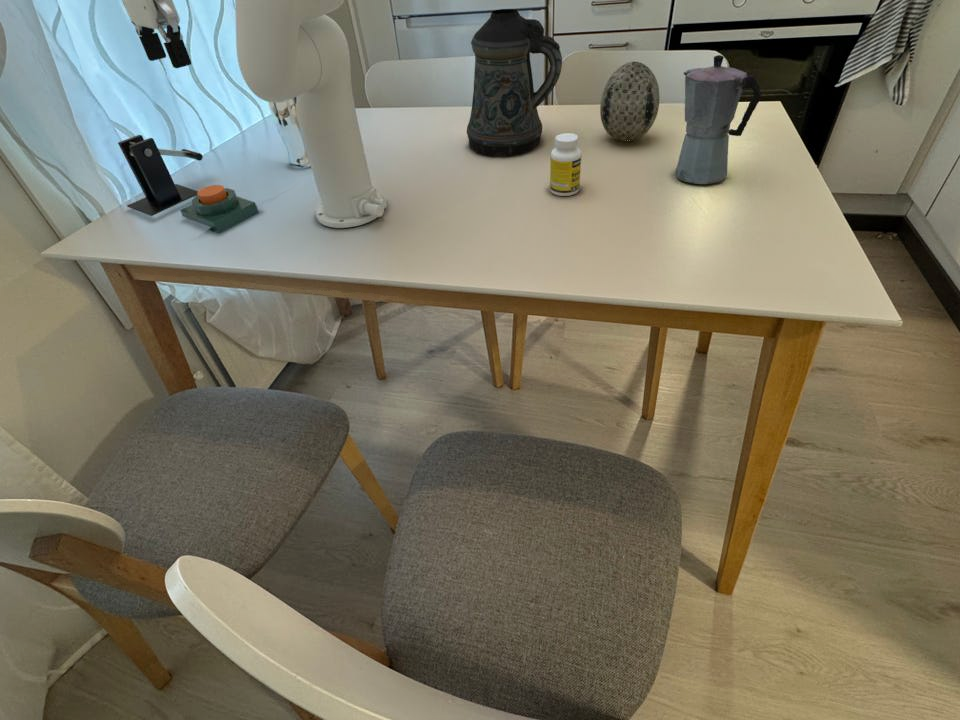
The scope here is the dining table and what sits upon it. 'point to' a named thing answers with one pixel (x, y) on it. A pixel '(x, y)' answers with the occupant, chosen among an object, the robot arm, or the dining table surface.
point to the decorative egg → (630, 102)
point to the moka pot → (712, 120)
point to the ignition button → (212, 194)
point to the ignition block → (221, 212)
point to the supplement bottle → (565, 165)
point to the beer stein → (509, 84)
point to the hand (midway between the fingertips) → (170, 62)
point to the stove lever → (176, 153)
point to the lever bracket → (152, 177)
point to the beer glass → (290, 131)
